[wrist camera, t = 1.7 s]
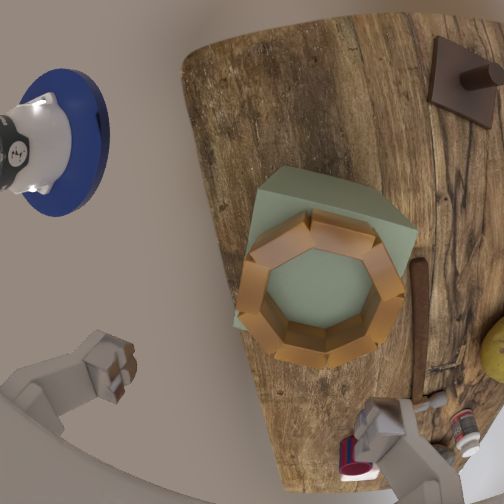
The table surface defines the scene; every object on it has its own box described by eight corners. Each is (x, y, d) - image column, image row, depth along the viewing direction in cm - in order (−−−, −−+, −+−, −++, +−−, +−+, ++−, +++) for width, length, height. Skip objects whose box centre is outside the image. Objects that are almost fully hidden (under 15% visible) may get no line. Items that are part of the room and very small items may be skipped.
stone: (440, 457, 51) (445, 487, 43) (395, 468, 54) (397, 500, 46) (458, 431, 44) (466, 468, 35) (405, 446, 47) (410, 484, 38)
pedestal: (265, 251, 38) (232, 327, 23) (282, 164, 33) (257, 188, 19) (349, 272, 36) (364, 357, 22) (375, 187, 32) (419, 230, 17)
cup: (339, 451, 51) (338, 476, 45) (341, 427, 48) (341, 456, 42) (369, 449, 50) (370, 474, 44) (375, 425, 46) (377, 453, 40)
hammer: (461, 255, 30) (445, 409, 39) (452, 247, 33) (441, 398, 41) (369, 276, 34) (380, 424, 42) (366, 267, 36) (379, 412, 45)
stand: (426, 101, 26) (457, 94, 19) (434, 38, 23) (462, 17, 15) (485, 129, 25) (523, 132, 18) (492, 67, 22) (528, 58, 14)
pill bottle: (451, 413, 42) (461, 450, 34) (473, 405, 41) (486, 440, 32) (448, 426, 44) (457, 462, 35) (469, 418, 42) (480, 453, 33)
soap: (340, 472, 55) (340, 482, 53) (343, 463, 53) (342, 473, 51) (375, 470, 53) (376, 479, 51) (380, 460, 51) (380, 471, 49)
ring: (237, 324, 23) (228, 347, 20) (262, 196, 19) (253, 206, 16) (362, 353, 22) (365, 377, 19) (412, 234, 18) (425, 250, 15)
